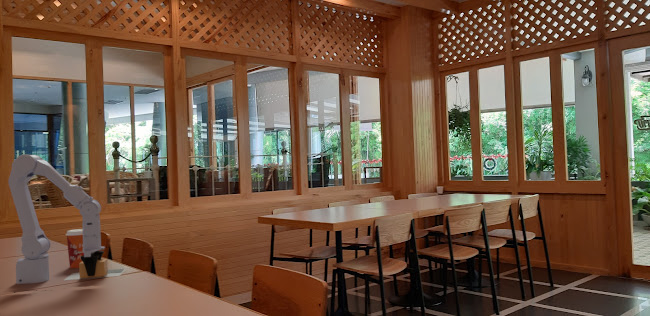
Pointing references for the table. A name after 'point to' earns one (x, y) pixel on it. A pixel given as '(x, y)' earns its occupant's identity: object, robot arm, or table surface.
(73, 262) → the coffee cup
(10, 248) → the table surface
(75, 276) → the board
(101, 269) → the block
